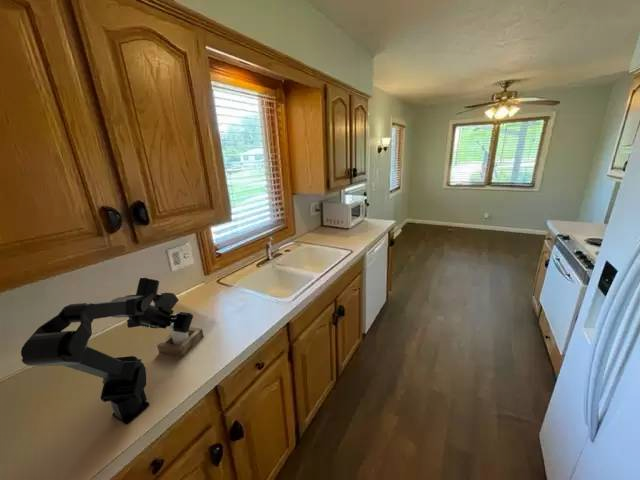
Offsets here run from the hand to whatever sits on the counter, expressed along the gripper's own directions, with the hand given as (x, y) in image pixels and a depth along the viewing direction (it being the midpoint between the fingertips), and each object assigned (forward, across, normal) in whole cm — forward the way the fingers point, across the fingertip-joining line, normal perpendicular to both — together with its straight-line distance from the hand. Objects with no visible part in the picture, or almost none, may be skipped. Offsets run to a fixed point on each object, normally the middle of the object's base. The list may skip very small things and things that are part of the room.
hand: (180, 324), depth 99 cm
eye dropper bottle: (+4, 0, +6) cm, 7 cm away
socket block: (+5, 0, +6) cm, 8 cm away
